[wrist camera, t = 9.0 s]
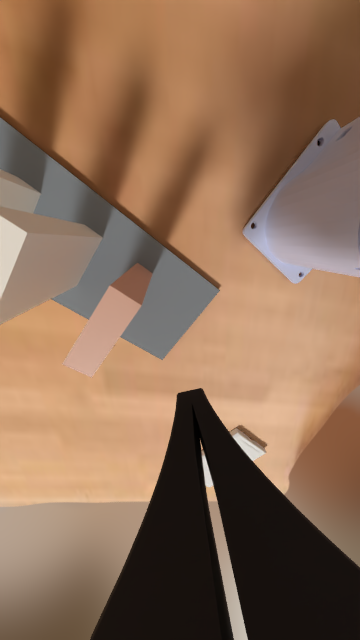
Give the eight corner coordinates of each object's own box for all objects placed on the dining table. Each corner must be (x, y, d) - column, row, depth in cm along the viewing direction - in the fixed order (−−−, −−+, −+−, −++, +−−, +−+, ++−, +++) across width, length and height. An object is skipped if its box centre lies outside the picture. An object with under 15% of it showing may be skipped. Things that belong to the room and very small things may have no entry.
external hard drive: (178, 462, 30) (234, 424, 28) (208, 477, 33) (262, 444, 30) (178, 473, 29) (238, 434, 26) (210, 488, 32) (267, 454, 29)
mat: (-290, -111, 8) (-311, -128, 8) (218, 289, 18) (219, 290, 18) (-267, 120, 11) (-282, 116, 11) (162, 357, 21) (162, 359, 20)
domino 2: (137, 262, 16) (109, 285, 8) (152, 273, 16) (141, 305, 8) (110, 305, 17) (62, 364, 9) (125, 314, 18) (91, 377, 10)
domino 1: (84, 224, 14) (-22, 201, 6) (102, 237, 15) (27, 232, 7) (59, 275, 16) (-55, 311, 8) (76, 285, 16) (-13, 331, 8)
